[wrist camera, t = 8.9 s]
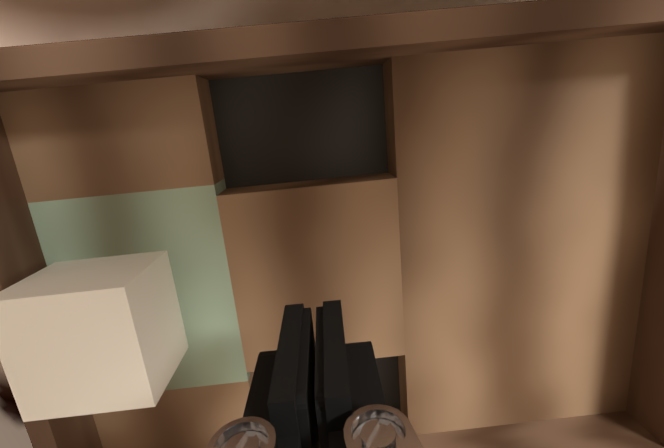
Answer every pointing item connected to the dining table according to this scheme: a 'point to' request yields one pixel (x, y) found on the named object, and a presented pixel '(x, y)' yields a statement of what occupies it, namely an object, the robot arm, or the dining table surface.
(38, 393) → the block
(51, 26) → the dining table surface
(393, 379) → the trap box
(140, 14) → the dining table surface
